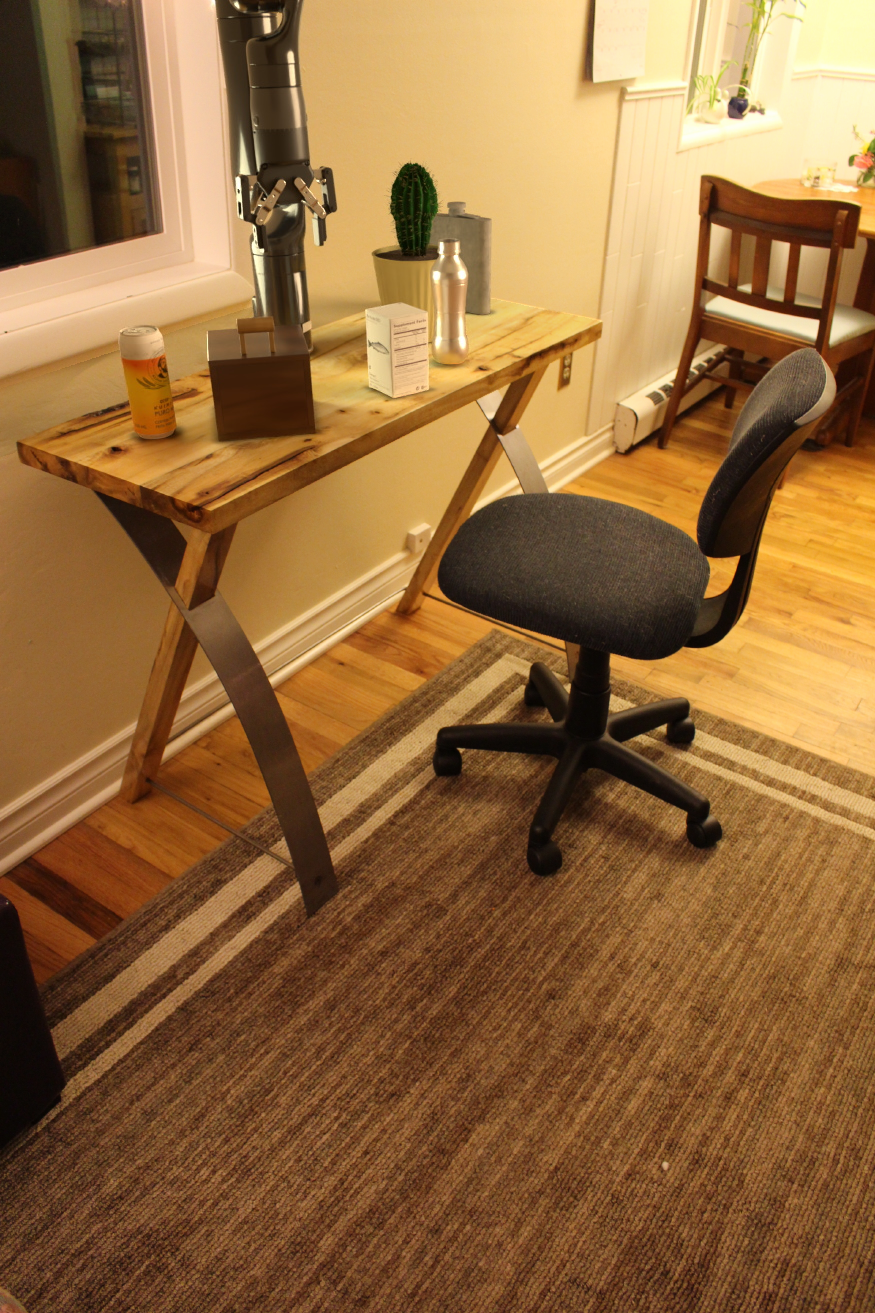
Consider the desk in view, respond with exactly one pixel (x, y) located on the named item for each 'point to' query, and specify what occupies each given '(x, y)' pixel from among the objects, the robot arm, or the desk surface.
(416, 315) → the white packaging box
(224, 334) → the lid
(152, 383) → the beer can
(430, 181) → the potted cactus
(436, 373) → the desk surface
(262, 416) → the chest
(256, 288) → the robot arm
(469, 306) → the hip flask
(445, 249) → the metal water bottle
